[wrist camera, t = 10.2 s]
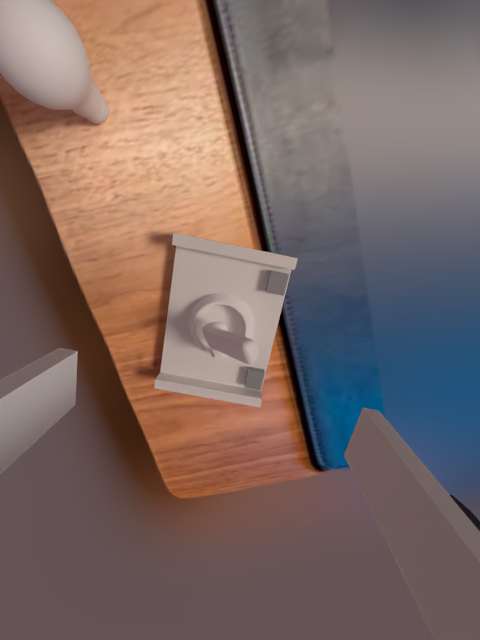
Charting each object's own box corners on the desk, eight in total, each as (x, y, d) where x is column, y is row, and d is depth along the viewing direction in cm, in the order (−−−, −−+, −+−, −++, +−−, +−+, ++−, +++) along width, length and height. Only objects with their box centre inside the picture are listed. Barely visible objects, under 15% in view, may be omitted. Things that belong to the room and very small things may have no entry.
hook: (313, 345, 25) (269, 398, 22) (242, 329, 35) (205, 364, 32) (285, 281, 22) (229, 333, 19) (215, 283, 31) (171, 318, 28)
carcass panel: (180, 234, 28) (173, 232, 26) (292, 257, 29) (297, 258, 26) (161, 376, 33) (154, 388, 30) (258, 393, 34) (260, 407, 31)
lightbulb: (132, 150, 26) (57, 80, 16) (73, 145, 26) (-41, 73, 16) (129, 79, 25) (44, -51, 14) (67, 74, 25) (-65, -60, 14)
